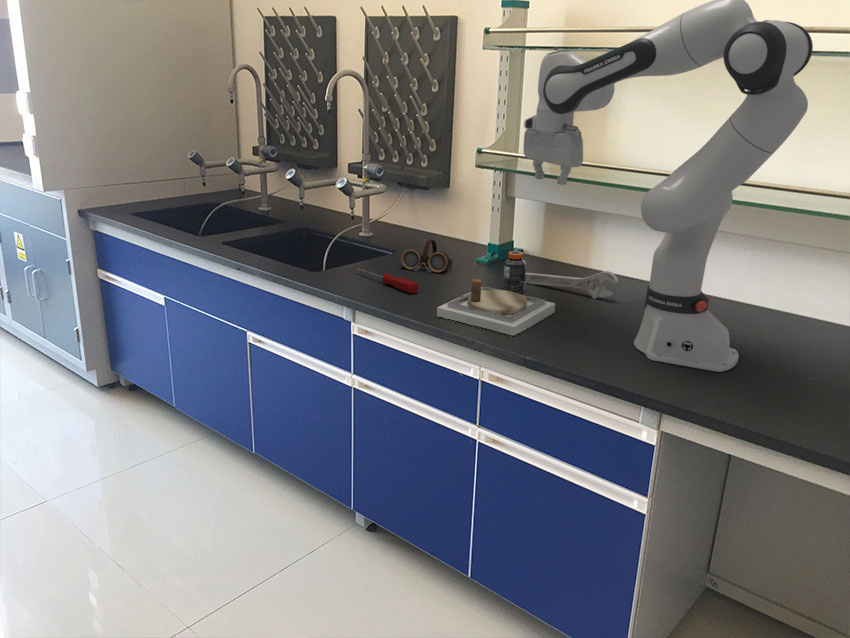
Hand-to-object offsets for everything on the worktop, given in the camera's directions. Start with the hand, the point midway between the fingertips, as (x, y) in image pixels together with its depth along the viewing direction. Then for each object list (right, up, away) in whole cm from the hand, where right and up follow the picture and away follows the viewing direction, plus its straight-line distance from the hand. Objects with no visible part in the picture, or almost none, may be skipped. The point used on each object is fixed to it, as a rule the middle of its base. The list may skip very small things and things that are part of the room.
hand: (550, 181), depth 176 cm
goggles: (-30, -18, +48) cm, 59 cm away
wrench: (+9, -26, +28) cm, 39 cm away
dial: (-12, -30, +7) cm, 33 cm away
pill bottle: (-6, -26, +27) cm, 38 cm away
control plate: (-12, -33, +8) cm, 36 cm away
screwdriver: (-42, -24, +31) cm, 57 cm away
